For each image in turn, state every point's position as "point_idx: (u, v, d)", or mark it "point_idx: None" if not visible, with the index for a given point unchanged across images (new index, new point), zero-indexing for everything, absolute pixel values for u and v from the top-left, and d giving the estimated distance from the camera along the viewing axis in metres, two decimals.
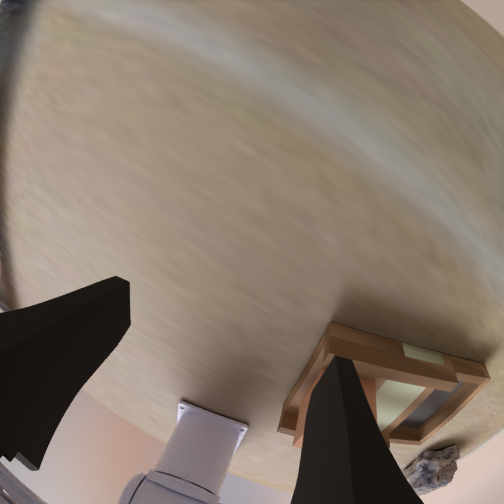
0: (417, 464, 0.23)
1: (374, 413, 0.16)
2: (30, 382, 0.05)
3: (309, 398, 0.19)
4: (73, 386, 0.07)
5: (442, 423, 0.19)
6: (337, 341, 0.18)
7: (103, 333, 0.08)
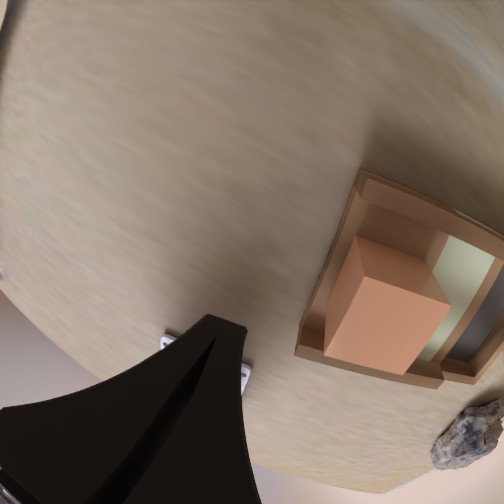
0: (459, 424, 0.19)
1: (439, 288, 0.12)
2: (147, 458, 0.05)
3: (341, 281, 0.14)
4: None
5: (502, 344, 0.14)
6: (374, 177, 0.13)
7: None
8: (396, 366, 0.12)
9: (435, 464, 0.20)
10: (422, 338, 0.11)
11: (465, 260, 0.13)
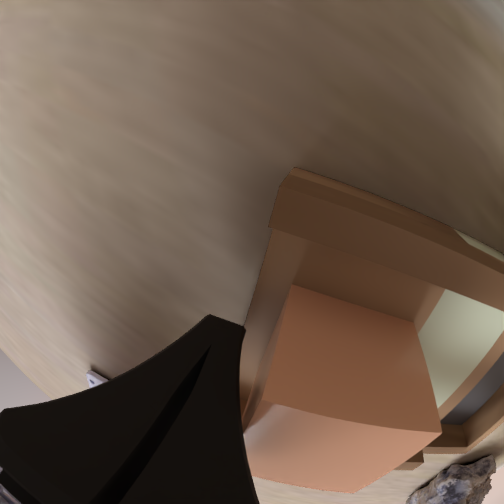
0: (440, 485, 0.13)
1: (427, 389, 0.06)
2: (149, 459, 0.05)
3: (265, 358, 0.09)
4: None
5: None
6: (307, 182, 0.07)
7: None
8: (342, 487, 0.07)
9: None
10: (384, 467, 0.06)
11: (472, 316, 0.08)
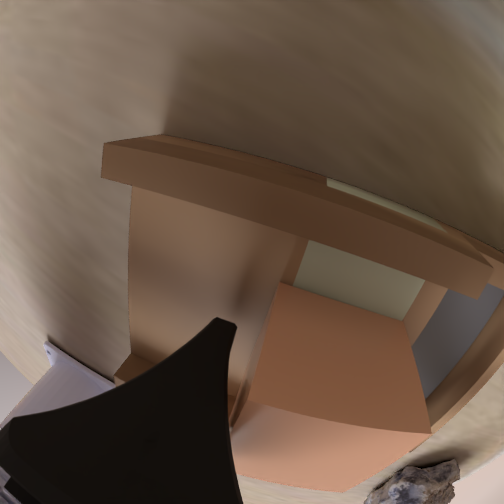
0: (391, 487, 0.14)
1: (417, 389, 0.06)
2: None
3: (253, 356, 0.09)
4: None
5: (455, 407, 0.09)
6: (145, 141, 0.08)
7: None
8: (331, 486, 0.07)
9: None
10: (373, 467, 0.06)
11: (359, 277, 0.08)
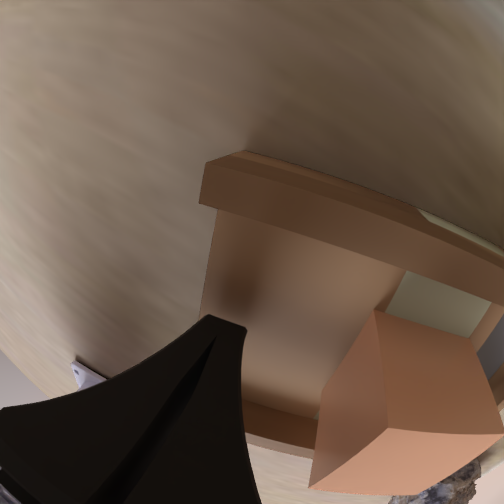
0: None
1: (490, 398, 0.06)
2: (147, 458, 0.05)
3: (346, 380, 0.09)
4: None
5: None
6: (244, 161, 0.07)
7: None
8: (409, 490, 0.06)
9: None
10: (453, 468, 0.05)
11: (442, 302, 0.08)
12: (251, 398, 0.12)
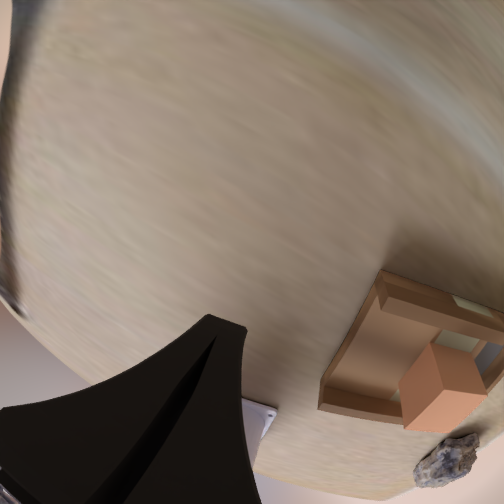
0: (439, 452, 0.22)
1: (480, 380, 0.14)
2: (147, 458, 0.05)
3: (417, 375, 0.17)
4: None
5: (486, 391, 0.17)
6: (393, 287, 0.15)
7: None
8: (446, 429, 0.14)
9: (416, 483, 0.23)
10: (466, 413, 0.13)
11: (459, 337, 0.16)
12: (358, 391, 0.20)
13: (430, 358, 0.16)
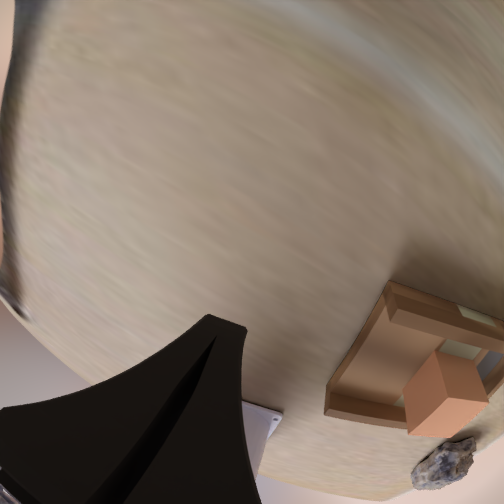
0: (437, 456, 0.22)
1: (482, 388, 0.14)
2: (147, 458, 0.05)
3: (421, 382, 0.17)
4: None
5: (487, 396, 0.17)
6: (401, 298, 0.16)
7: None
8: (448, 434, 0.14)
9: (414, 485, 0.23)
10: (468, 419, 0.13)
11: (462, 345, 0.16)
12: (364, 397, 0.20)
13: (434, 366, 0.16)
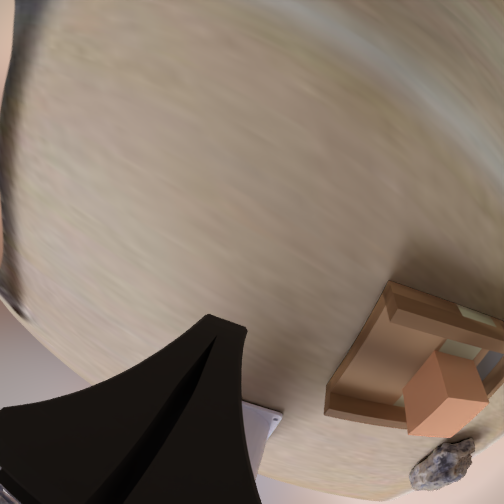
0: (436, 456, 0.22)
1: (482, 388, 0.14)
2: (147, 458, 0.05)
3: (421, 382, 0.17)
4: None
5: (487, 396, 0.17)
6: (401, 298, 0.16)
7: None
8: (448, 434, 0.14)
9: (412, 485, 0.23)
10: (468, 419, 0.13)
11: (462, 345, 0.16)
12: (364, 397, 0.20)
13: (434, 366, 0.16)
